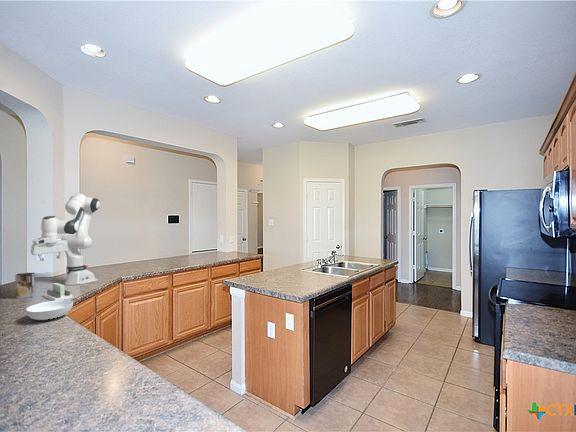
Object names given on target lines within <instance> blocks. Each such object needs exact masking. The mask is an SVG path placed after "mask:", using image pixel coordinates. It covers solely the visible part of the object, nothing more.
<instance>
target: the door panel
mask: <svg viewBox="0 0 576 432" xmlns="http://www.w3.org/2000/svg"><path fill="white" fill-rule="evenodd" d="M65 285H66V284H61V283H59V282H54V283H52V291H55V292H57V293H60V294H61V296H65V290H66V289H65V288H66V287H65Z"/></svg>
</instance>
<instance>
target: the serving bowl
mask: <svg viewBox="0 0 576 432" xmlns="http://www.w3.org/2000/svg"><path fill="white" fill-rule="evenodd" d="M73 306H74V301H73V300H70V299H65V300H55V301H53V300H49V301H44V302H39V303H36V304H32V305H30V306H28V307H26V309H25V311H26V315H27V316H28V318H30V319H32V320H36V321H49V320H48V319H50V320H54V319H53V318H55V319H57V317H58V318H60V317H62V316H65V315H66V314H68V313H69V312H70V311H71V310H72V309H73Z"/></svg>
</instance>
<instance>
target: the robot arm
mask: <svg viewBox="0 0 576 432" xmlns="http://www.w3.org/2000/svg"><path fill="white" fill-rule="evenodd" d="M64 205H65V206H64V209H65V211H66V212H67V213H68V214H70V215H71V216H73V218H72V219H66V220H65V219H62V220H61V219H58V218H57V217H56V216H55V215H48V216H47V215H46V216H44V217H42V218H41V224H40V225H41V226H40V229H41V237H39V238H36V239H33V240H32V245H31V248H30V253H31V255H33V256H37V257H38V258H39V261H40V262H44V260H45V257H42V256H43V255H46V254H56V253H58V255H56V259H57V260H58V259H61V256H62V254H63V252H64V253H65V255H66V269H65V272H66V276H65V281H64V285H66V286H67V285H68V286H74V285H75V286H77V285H78V286H79V285H80V286H81V285H85V284H89V283H93V282H96V281H97V282H98V278H97V277H95V274H94V272H92V271H90V270H88V269H89V267H90V266H89V265H87V264H84V263H85V262H84V261H85V259H84V258H85V257H84V255H83V253H81V252H80V251H79V250H84V249H89V248H91V247H92V245H93V239H92V238H91V236H90V234H89V230H90V227H91V223H92V220H93V215H94V213H95V212H97V211H98V210H99V209H100V206H101V201H100V199H98V198H97V197H96V198H95V197H90V196H86V195H85V194H83V193H75V194H74V195H73V196H71V197H69V199H68V200H67V201H66V202H65V204H64ZM60 234H61V235H62V234H63V235H62V236H60V237H59V235H60ZM64 234H66V235H64Z"/></svg>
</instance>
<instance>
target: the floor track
mask: <svg viewBox="0 0 576 432" xmlns="http://www.w3.org/2000/svg"><path fill="white" fill-rule="evenodd" d="M44 298H45V299H48V300H49V301H55V300H64V299H65V300H70V299H73V294H71V291H69V290H67V289H65V296H61V294H60V293H57V292H55V291H53V289H47V290H46V293H45V294H44ZM69 298H70V299H69Z"/></svg>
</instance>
